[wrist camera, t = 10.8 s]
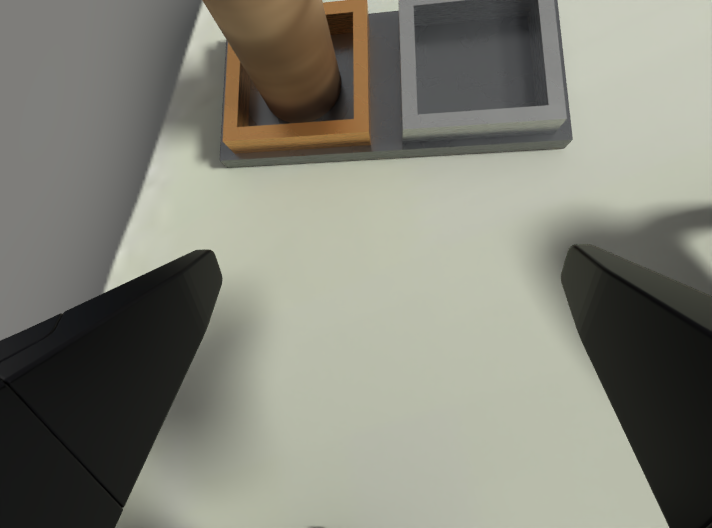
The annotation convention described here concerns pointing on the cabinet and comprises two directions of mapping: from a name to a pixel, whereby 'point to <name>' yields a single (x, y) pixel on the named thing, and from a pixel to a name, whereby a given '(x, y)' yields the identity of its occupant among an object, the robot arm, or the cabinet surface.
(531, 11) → the tray
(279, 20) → the post
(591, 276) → the robot arm
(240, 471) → the cabinet surface
